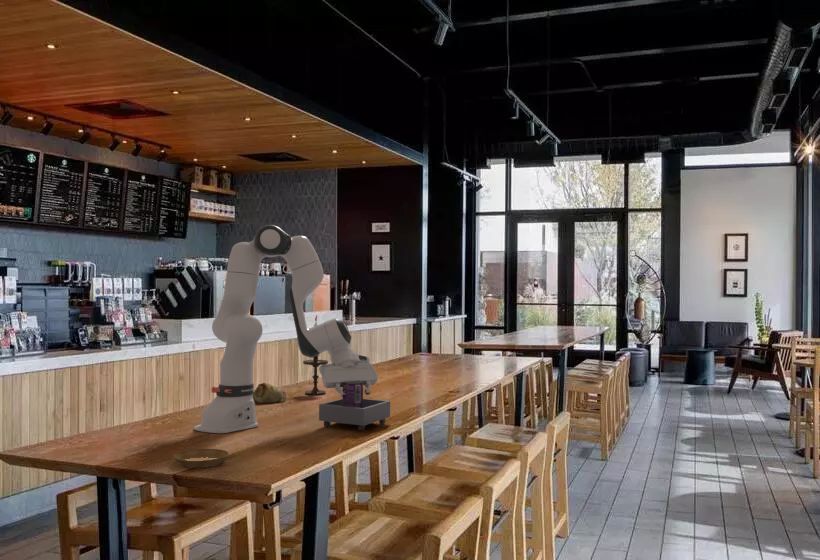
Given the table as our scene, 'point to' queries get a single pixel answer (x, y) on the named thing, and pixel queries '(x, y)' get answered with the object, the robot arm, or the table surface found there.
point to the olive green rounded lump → (268, 394)
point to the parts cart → (354, 413)
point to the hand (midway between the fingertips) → (355, 394)
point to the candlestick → (315, 372)
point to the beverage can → (353, 394)
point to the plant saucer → (200, 453)
